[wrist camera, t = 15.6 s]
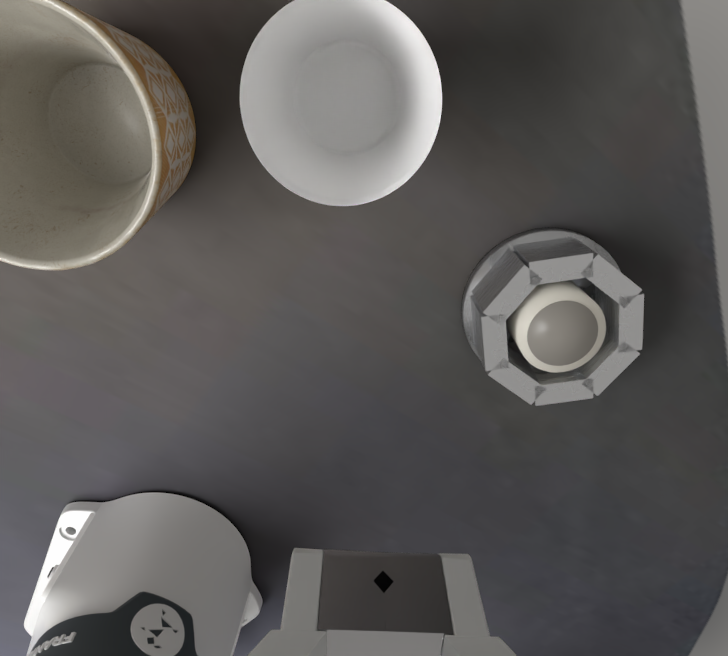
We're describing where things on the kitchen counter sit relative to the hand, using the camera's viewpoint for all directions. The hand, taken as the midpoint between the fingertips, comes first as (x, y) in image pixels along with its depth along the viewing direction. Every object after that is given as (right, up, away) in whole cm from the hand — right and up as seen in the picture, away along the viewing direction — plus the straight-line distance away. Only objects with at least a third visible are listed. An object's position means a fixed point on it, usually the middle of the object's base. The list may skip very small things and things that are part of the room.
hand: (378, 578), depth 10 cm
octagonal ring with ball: (+12, +6, +31) cm, 34 cm away
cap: (+12, +5, +30) cm, 33 cm away
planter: (-16, +17, +27) cm, 36 cm away
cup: (-1, +19, +26) cm, 32 cm away
